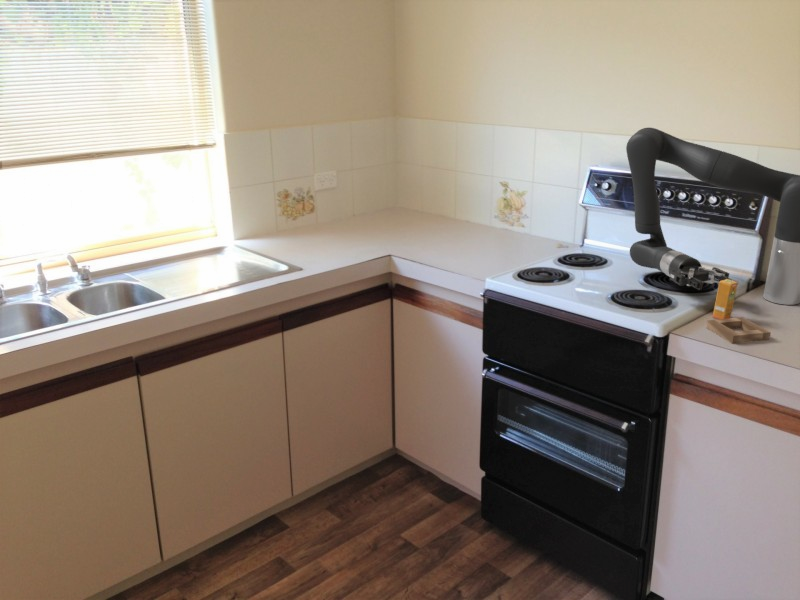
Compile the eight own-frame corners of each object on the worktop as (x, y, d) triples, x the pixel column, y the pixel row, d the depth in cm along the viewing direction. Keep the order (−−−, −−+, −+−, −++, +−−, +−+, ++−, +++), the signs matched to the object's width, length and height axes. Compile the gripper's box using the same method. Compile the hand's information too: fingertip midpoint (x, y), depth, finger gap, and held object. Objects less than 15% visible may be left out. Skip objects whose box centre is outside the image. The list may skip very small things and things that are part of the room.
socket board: (741, 324, 182) (742, 317, 181) (769, 340, 173) (770, 332, 172) (706, 327, 180) (707, 320, 179) (732, 343, 171) (733, 335, 170)
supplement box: (724, 321, 184) (730, 284, 180) (712, 317, 186) (718, 280, 183) (731, 318, 186) (738, 281, 182) (719, 315, 188) (725, 278, 185)
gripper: (658, 255, 199) (693, 272, 185) (704, 252, 202) (742, 269, 187) (655, 281, 202) (689, 300, 187) (700, 278, 205) (738, 296, 190)
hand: (716, 285), depth 187 cm, fingers open, 8 cm apart
